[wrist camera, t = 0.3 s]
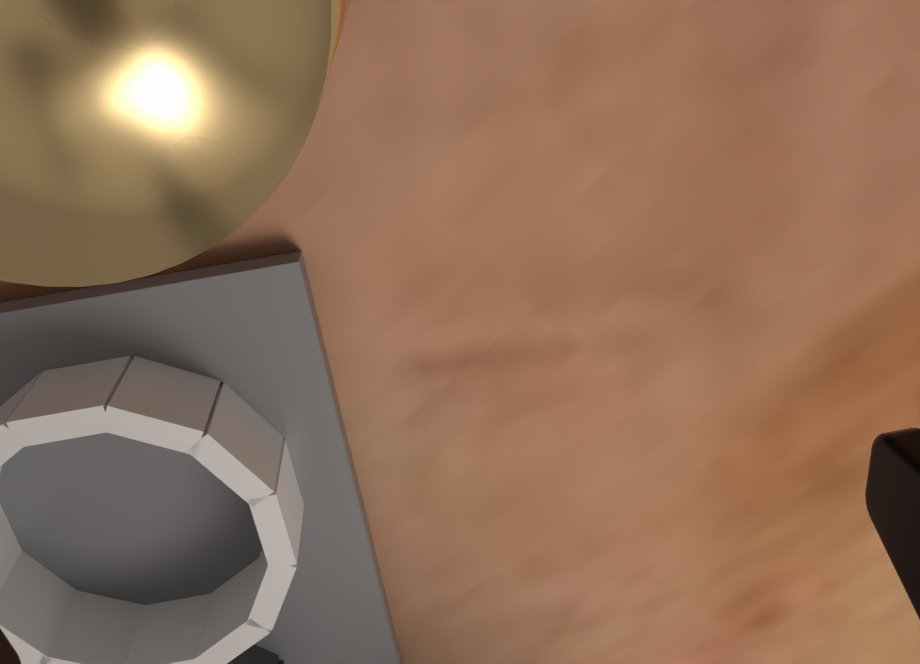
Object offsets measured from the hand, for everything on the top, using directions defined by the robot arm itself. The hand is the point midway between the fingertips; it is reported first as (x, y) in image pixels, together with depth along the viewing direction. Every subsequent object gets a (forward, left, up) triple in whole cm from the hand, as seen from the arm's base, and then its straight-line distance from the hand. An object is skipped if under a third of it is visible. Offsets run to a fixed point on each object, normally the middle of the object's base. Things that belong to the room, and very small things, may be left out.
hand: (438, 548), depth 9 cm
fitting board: (-10, +9, -14) cm, 19 cm away
